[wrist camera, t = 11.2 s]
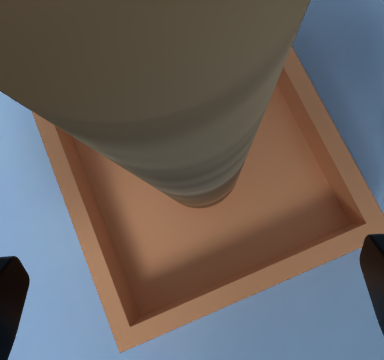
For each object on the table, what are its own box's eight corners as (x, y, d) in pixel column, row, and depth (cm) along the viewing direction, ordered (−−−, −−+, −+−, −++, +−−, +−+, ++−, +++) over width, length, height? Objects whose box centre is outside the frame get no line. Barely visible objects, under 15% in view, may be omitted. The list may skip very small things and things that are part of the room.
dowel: (254, 159, 17) (411, -134, 3) (207, 224, 17) (159, 210, 3) (190, 116, 18) (88, -292, 4) (144, 178, 17) (-147, -18, 3)
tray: (368, 233, 17) (393, 233, 14) (134, 335, 17) (119, 352, 14) (257, 23, 19) (262, -9, 16) (52, 116, 19) (27, 99, 17)
